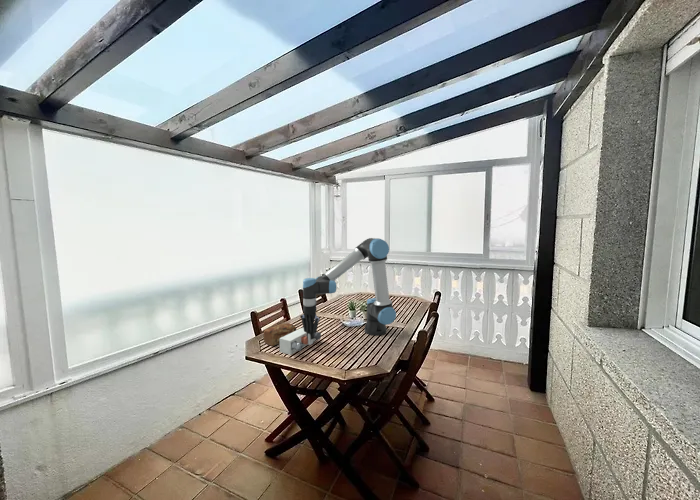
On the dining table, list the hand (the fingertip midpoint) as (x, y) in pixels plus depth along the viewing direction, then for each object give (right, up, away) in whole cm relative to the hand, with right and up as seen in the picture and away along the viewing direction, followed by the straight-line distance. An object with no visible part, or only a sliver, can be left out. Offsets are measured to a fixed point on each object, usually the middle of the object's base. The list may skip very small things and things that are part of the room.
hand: (310, 344), depth 170 cm
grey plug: (-1, 0, +11) cm, 11 cm away
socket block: (-8, -3, +5) cm, 9 cm away
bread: (-21, -2, +13) cm, 25 cm away
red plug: (-7, 0, +4) cm, 8 cm away
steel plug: (-10, -1, -5) cm, 11 cm away
